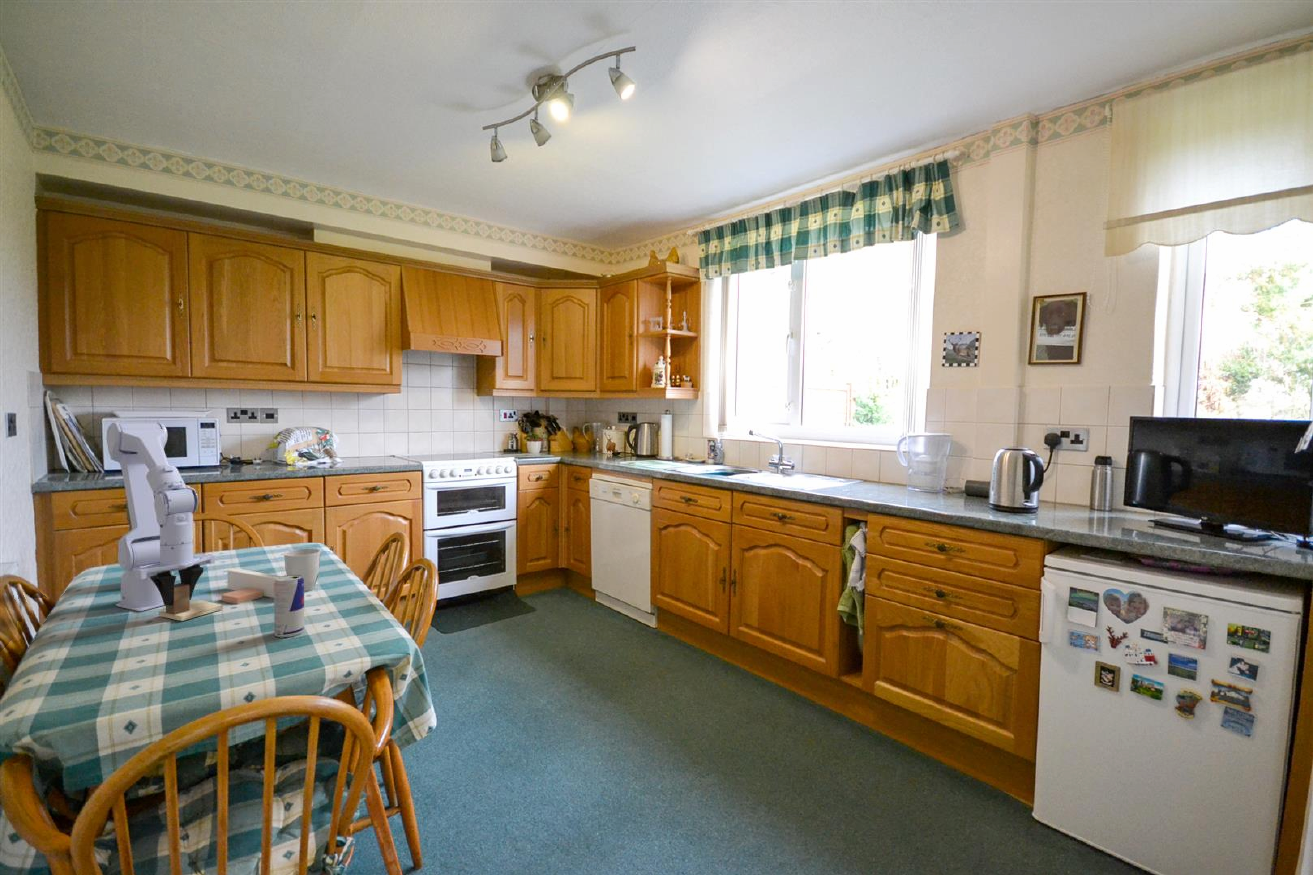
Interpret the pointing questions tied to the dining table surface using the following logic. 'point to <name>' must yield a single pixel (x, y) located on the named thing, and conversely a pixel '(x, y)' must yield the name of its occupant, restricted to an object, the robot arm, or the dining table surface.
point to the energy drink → (288, 605)
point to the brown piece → (187, 605)
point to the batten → (251, 581)
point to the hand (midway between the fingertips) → (177, 602)
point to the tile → (241, 595)
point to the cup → (304, 565)
